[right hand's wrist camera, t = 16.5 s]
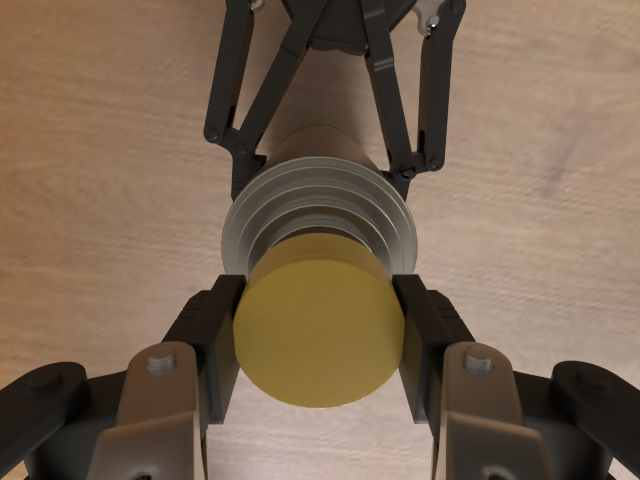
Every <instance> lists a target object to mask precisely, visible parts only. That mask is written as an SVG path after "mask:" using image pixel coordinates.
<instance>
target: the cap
mask: <svg viewBox="0 0 640 480" xmlns="http://www.w3.org/2000/svg"><path fill="white" fill-rule="evenodd" d="M404 329H405V317H404V314H403V310H402V308H401V305H400V303H399V300H398V297H397V295H396V292H395V290H394V287H393V285H392V282H391V280H390V277H389V275H388V273H387V271H386V269H385V267H384V266H383V264H382V263H381V261H380V260H379V259H378V258H377V257H376V256H375V255H374V254H373V253H372V252H371V251H370V250H369V249H367V248H366V247H364V246H363V245H361V244H360V243H358V242H356V241H354V240H352V239H349V238H346V237H343V236H340V235H335V234H330V233H309V234H304V235H298V236H295V237H292V238H289V239H287V240H285V241H283V242H281V243H279V244H277V245H276V246H274V247H273V248H271V249H270V250H269V251H268V252H266V253H265V254H264V255H263V256H262V257H261V259H260V260H259V261H258V262H257V264H256V265H255V267H254V268H253V270H252V272H251V274H250V276H249V278H248V281H247V284H246V286H245V289H244V291H243V294H242V296H241V299H240V301H239V304H238V306H237V309H236V312H235V315H234V318H233V332H234V343H235V354H236V358H237V361H238V363H239V365H240V367H241V368H242V370H243V371H244V373H245V374H246V376H247V377H248V378H249V379H250V380H251V381H252V382H253V383H254V384H255V385H256V386H257V387H258V388H259V389H261V390H262V391H263V392H265V393H266V394H268V395H269V396H271V397H273V398H275V399H277V400H279V401H282V402H284V403H287V404H290V405H294V406H298V407H304V408H314V409H324V408H334V407H340V406H344V405H348V404H351V403H354V402H357V401H359V400H361V399H363V398H365V397H367V396H369V395H371V394H372V393H373V392H375V391H376V390H378V389H379V388H380V387H381V386H382V385H384V384H385V383H386V382H387V381H388V379H389V378H390V377H391V376H392V375H393V373H394V372H395V370H396V369H397V367H398V365H399V363H400V361H401V359H402V351H403V340H404Z"/></svg>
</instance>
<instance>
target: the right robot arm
mask: <svg viewBox="0 0 640 480" xmlns="http://www.w3.org/2000/svg"><path fill="white" fill-rule="evenodd" d="M391 282H392V285H393V287H394V290H395V292H396V295H397V297H398V300H399V303H400V305H401V308H402V310H403V314H404V317H405V329H404V340H403V351H402V359H401V361H400V363H399V365H398V369H399V372H400V375H401V379H402V382H403V386H404V389H405V393H406V396H407V400H408V403H409V407H410V410H411V413H412V417H413V420H414V424H429V426H430V429H431V432H432V435H433V443H432V458H431V477H430V480H616V479H615V478H614V477H613V476H612V475H611V474H610V473H609V472H608V471H609V468H610V465H611V462H612V459H613V457H614V458H615V459H617V460H618V461H619V462H620V463H621V464H622V465H624V466H625V467H626V468H627V469H628V470H629V471H630V472H632V473H633V474H634V475H635V476H636V477H637V478H639V479H640V390H638V389H637V388H635V387H634V386H632V385H631V384H629V383H628V382H626V381H625V380H623V379H622V378H620V377H619V376H617V375H616V374H614V373H612V372H610V371H608V370H606V369H604V368H602V367H599V366H597V365H594V364H590V363H586V362H581V361H563V362H560V363H558V364H556V365H555V366H554V368H553V372H552V376H551V379H549V378H544V377H540V376H535V375H530V374H525V373H521V372H517V371H513V369H512V365H511V363H510V361H509V360H508V358H507V357H506V356H505V355H503V354H502V353H501V352H499V351H498V350H496V349H494V348H492V347H490V346H488V345H485V344H481V343H477V342H476V341H475V339H474V338H473V336H472V335H471V333H470V331H469V330H468V328H467V327H466V325H465V324H464V322H463V321H462V319H460V316H459V314H458V313H457V311H456V310H455V308H454V307H453V305H452V303H451V302H450V300H449V299H448V298H447V297H445V296H444V295H443V294H441V293H440V292H438V291H437V290H427V289H426V288H425V286H424V284H423V282H422V280H421V279H420V277H419V275H418V274H393V276H392V281H391ZM246 284H247V281H246V276H245V275H219V277H218V279H217V280H216V282H215V284H214V286H213V287H212V289H211V290H202V291H200V292H199V293H197V294H196V295H194V296H193V297H191V298H190V299H189V300H188V302H187V303H186V305H185V306H184V308H183V311H181V312H180V314H179V315H178V319H176V320H175V322H174V323H173V325H172V326H171V328H170V329H169V331H168V332H167V334H166V335H165V337H164V338H163V340H162V341H161V343H159V344H155V345H152V346H150V347H148V348H146V349H144V350H142V351H141V352H139V353H138V354H136V355H135V356H134V357H133V358H132V360H131V361H130V363H129V365H128V369H127V370H125V371H122V372H118V373H114V374H110V375H105V376H100V377H95V378H90V379H87V375H86V371H85V368H84V367H83V366H82V365H80V364H78V363H75V362H58V363H52V364H49V365H45V366H42V367H39V368H37V369H34V370H32V371H30V372H28V373H26V374H25V375H23V376H21V377H20V378H18V379H17V380H15V381H14V382H12V383H11V384H9V385H8V386H6V387H5V388H3V389H2V390H0V479H1V478H3V477H4V476H5V475H6V474H7V473H8V472H9V471H11V470H12V469H13V468H14V467H15V466H16V465H18V464H19V463H20V462H21V461H22V460H24V463H25V466H26V469H27V472H28V474H29V475H28V476H27V477H26V478H25V479H24V480H210V478H209V458H208V443H207V436H206V430H207V427H208V424H223V422H224V419H225V415H226V412H227V409H228V405H229V402H230V399H231V395H232V392H233V388H234V385H235V382H236V378H237V375H238V372H239V368H240V365H239V363H238V361H237V358H236V354H235V343H234V332H233V318H234V315H235V312H236V309H237V306H238V304H239V301H240V299H241V296H242V294H243V291H244V289H245V286H246Z"/></svg>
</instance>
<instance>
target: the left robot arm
mask: <svg viewBox="0 0 640 480" xmlns="http://www.w3.org/2000/svg"><path fill="white" fill-rule="evenodd" d="M281 1H282V3H283V5H284V7H285V9H286V11H287V13H288V15H289V17H290V19H291V21H292V23H291V25H290V27H289V29H288V31H287V33H286V35H285V37H284V39H283V41H282V44H281V47H280V50H279V52H278V54H277V56H276V58H275V60H274V62H273V64H272V66H271V68H270V70H269V72H268V74H267V76H266V78H265V80H264V82H263V84H262V86H261V88H260V90H259V92H258V94H257V96H256V98H255V100H254V102H253V104H252V106H251V108H250V110H249V112H248V114H247V116H246V118H245V120H244V122H243V124H242V126H241V128H240V130H237V129H235V128H233V122H234V117H235V113H236V108H237V103H238V99H239V94H240V89H241V85H242V80H243V75H244V71H245V66H246V61H247V57H248V52H249V47H250V43H251V38H252V33H253V27H254V12H259V11H261V10H262V9H263V7H264V5H265V0H226V7H227V10H226V15H225V21H224V26H223V31H222V36H221V42H220V47H219V52H218V58H217V63H216V68H215V73H214V79H213V84H212V89H211V94H210V100H209V105H208V110H207V115H206V121H205V126H204V137H205V139H206V140H207V141H208V142H210V143H215V144H217V145H219V146H221V147H223V148H225V149H227V150H228V151H229V152H230V153H231V155H232V158H233V169H232V189H231V197H232V200H233V203H234V201H235V200H236V198H237V196H238V195H239V194H240V193H241V191H242V190H243V189H244V188H245V187H246V185H247V184H248V183H249V182H250V181H251V180H252V178H253V177H254V176H255V175H256V174H257V172H258V171H259V170H260V169H261V168H262V167H263V165H264V164H265V163H266V160H267V156H264V155H255V151H256V149H257V146H258V144H259V142H260V140H261V138H262V136H263V134H264V132H265V130H266V128H267V127H268V125H269V123H270V121H271V119H272V117H273V115H274V113H275V111H276V109H277V107H278V105H279V103H280V102H281V100H282V98H283V96H284V94H285V92H286V90H287V88H288V86H289V84H290V82H291V80H292V78H293V77H294V75H295V73H296V71H297V69H298V67H299V65H300V63H301V62H302V60H303V59H304V57H305V55H306V53H307V51H308V49H309V47H312V49H313V50H320V51H328V50H335V49H338V50H340V51H343V52H345V53H347V54H349V55H356V56H362V55H363V54H364V58H365V63H366V67H367V70H368V72H369V76H370V80H371V85H372V89H373V93H374V98H375V102H376V107H377V111H378V116H379V120H380V125H381V129H382V134H383V138H384V142H385V147H386V151H387V156H388V160H389V165H390V170H389V172H388V171H382V170H380V171H381V173H382V174H383V175H384V176H385V177H386V179H387V180H388V181H389V182H390V183H391V184H392V186H393V187H394V188H395V189H396V190H397V192H398V193H399V194H400V195H401V197H402V198H403V200H404V202H406V198H407V193H408V189H409V184H410V181H411V179H413V178H414V177H415V176H416V174H419V173H423V172H427V171H434V172H435V171H438V170H440V169H441V168H442V167H443V165H444V161H445V146H446V132H447V118H448V103H449V89H450V74H451V60H452V46H453V40H454V37H455V35H456V32H457V29H458V27H459V24H460V22H461V19H462V17H463V14H464V12H465V8H466V0H281ZM410 10H412V11H414V12H415V13H416V15H417V17H418V26H417V28H418V31H419V33H420V34H421V35H422V36H424V40H423V45H422V52H421V69H420V91H419V114H418V136H417V151H416V152H412V151H411V146H410V142H409V137H408V132H407V127H406V122H405V117H404V112H403V107H402V102H401V97H400V92H399V87H398V82H397V77H396V73H395V68H394V54H393V49H392V44H391V39H390V33H391V32H392V30H393V29H394V28H395V27H396V26H397V25H398V24H399V23H400V21H401V20H402V19H403V18H404V17H405V16H406V15H407V14H408V12H409V11H410Z"/></svg>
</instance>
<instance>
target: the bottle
mask: <svg viewBox="0 0 640 480" xmlns="http://www.w3.org/2000/svg"><path fill="white" fill-rule="evenodd" d="M309 233H330V234H335V235H340V236H343V237H346V238H349V239H352V240H354V241H356V242H358V243H360V244H361V245H363V246H364V247H366V248H367V249H369V250H370V251H371V252H372V253H373V254H374V255H375V256H376V257H377V258H378V259H379V260H380V261H381V263H382V264H383V266H384V267H385V269H386V271H387V273H388V275H389V277H390V280H391V281H392V276H393V274H413V272H414V269H415V265H416V259H417V235H416V229H415V225H414V221H413V218H412V216H411V213H410V211H409V209H408V207H407V205H406V203H405V202H404V200H403V198H402V197H401V195H400V194H399V193H398V192H397V190H396V189H395V188H394V187H393V186H392V184H391V183H390V182H389V181H388V180H387V179H386V177H385V176H384V175H383V174H382V173H381V171H380V170H379V169H378V168H377V167H376V166H375V164H374V163H373V162H372V161H371V160H370V158H369V157H368V156H367V155H366V154H365V153H364V151H363V150H362V149H361V148H360V147H359V145H358V144H357V143H356V142H355V141H354V140H353V139H352V138H351V137H350V136H349V135H348V134H346V133H345V132H343V131H341V130H339V129H337V128H334V127H331V126H325V125H314V126H309V127H305V128H302V129H300V130H298V131H296V132H294V133H293V134H291V135H290V136H289V137H288V138H287V139H286V140H285V141H284V142H283V143H282V144H281V146H280V147H279V148H278V149H277V150H276V151H275V153H274V154H273V155H272V156H271V157H270V158H269V160H268V161H267V162H266V163H265V164H264V165H263V167H262V168H261V169H260V170H259V171H258V172H257V174H256V175H255V176H254V177H253V178H252V180H251V181H250V182H249V183H248V184H247V185H246V187H245V188H244V189H243V190H242V191H241V193H240V194H239V195H238V196H237V198H236V200H235V201H234V203H233V204H232V206H231V208H230V210H229V213H228V215H227V217H226V220H225V224H224V228H223V233H222V241H221V250H222V260H223V266H224V269H225V273H226V275H245V276H246V281H248V278H249V276H250V274H251V272H252V270H253V268H254V267H255V265H256V264H257V262H258V261H259V260H260V259H261V257H262V256H263V255H264V254H265V253H266V252H268V251H269V250H270V249H271V248H273V247H274V246H276V245H277V244H279V243H281V242H283V241H285V240H287V239H289V238H292V237H295V236H298V235H304V234H309Z"/></svg>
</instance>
